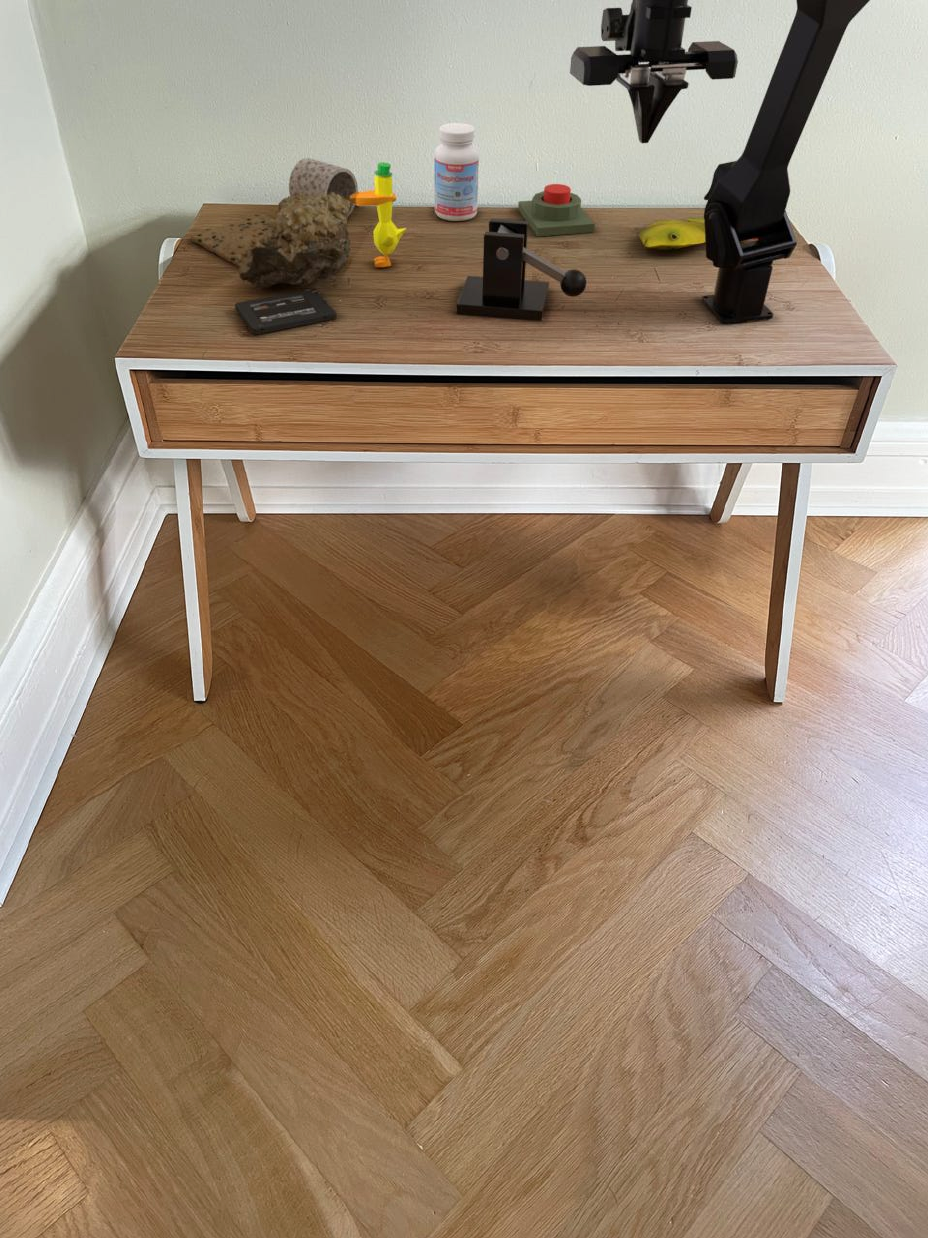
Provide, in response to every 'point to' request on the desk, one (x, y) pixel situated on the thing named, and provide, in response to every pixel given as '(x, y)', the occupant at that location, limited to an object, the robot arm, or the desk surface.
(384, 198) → the toy figure
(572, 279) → the lever
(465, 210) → the pill bottle
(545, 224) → the button block
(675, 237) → the fish
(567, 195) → the button
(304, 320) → the solid state drive
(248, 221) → the cookie
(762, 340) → the desk surface
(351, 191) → the speckled mug
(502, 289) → the bracket
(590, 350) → the desk surface
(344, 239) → the mineral specimen
